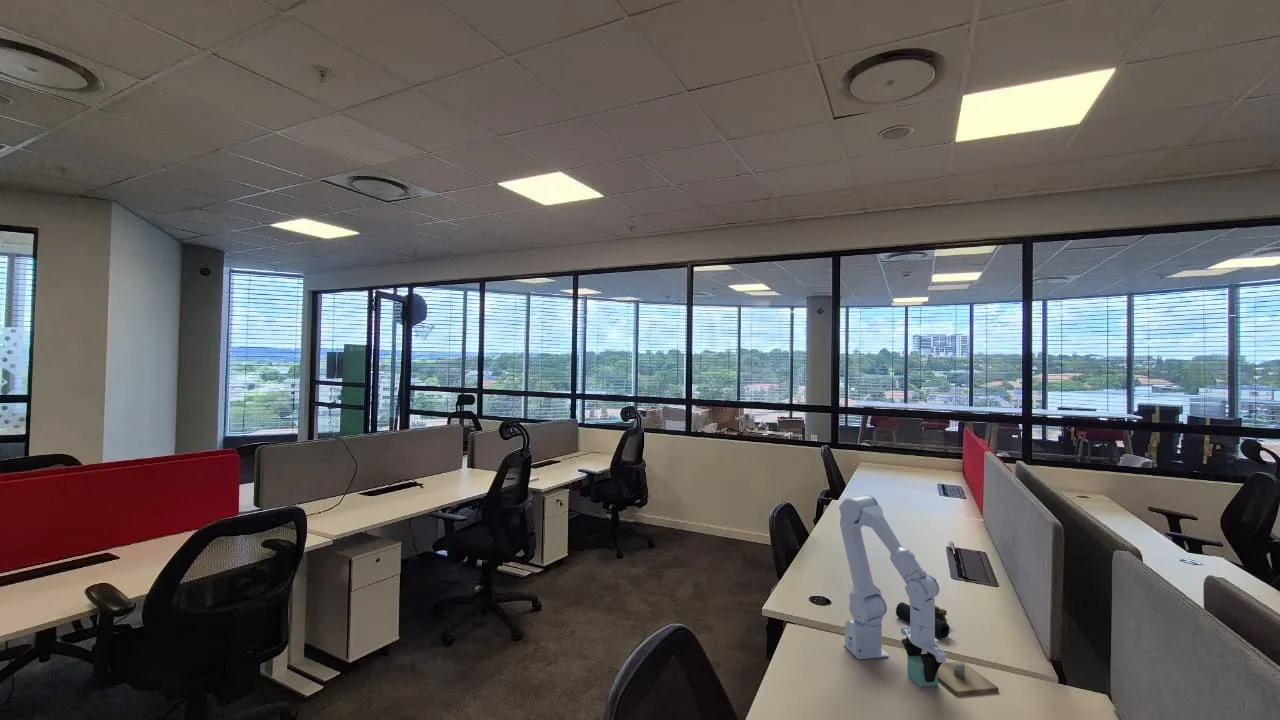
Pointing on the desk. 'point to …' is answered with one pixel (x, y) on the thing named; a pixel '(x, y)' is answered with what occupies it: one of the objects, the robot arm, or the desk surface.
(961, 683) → the base plate
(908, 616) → the pipe connector
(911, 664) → the teal cube
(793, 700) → the desk surface
